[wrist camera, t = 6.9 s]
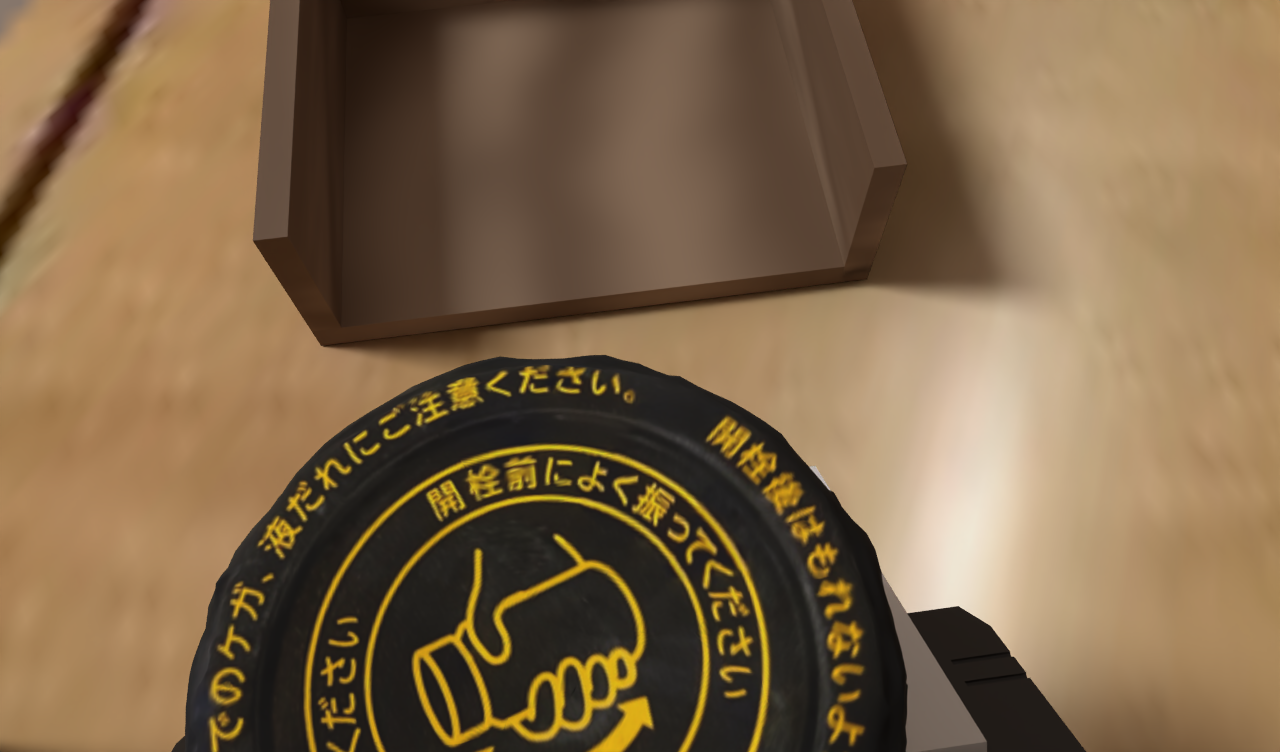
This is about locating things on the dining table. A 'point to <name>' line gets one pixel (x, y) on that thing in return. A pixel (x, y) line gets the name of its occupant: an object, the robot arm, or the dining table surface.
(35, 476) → the dining table surface
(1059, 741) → the robot arm
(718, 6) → the caddy
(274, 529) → the condiment
